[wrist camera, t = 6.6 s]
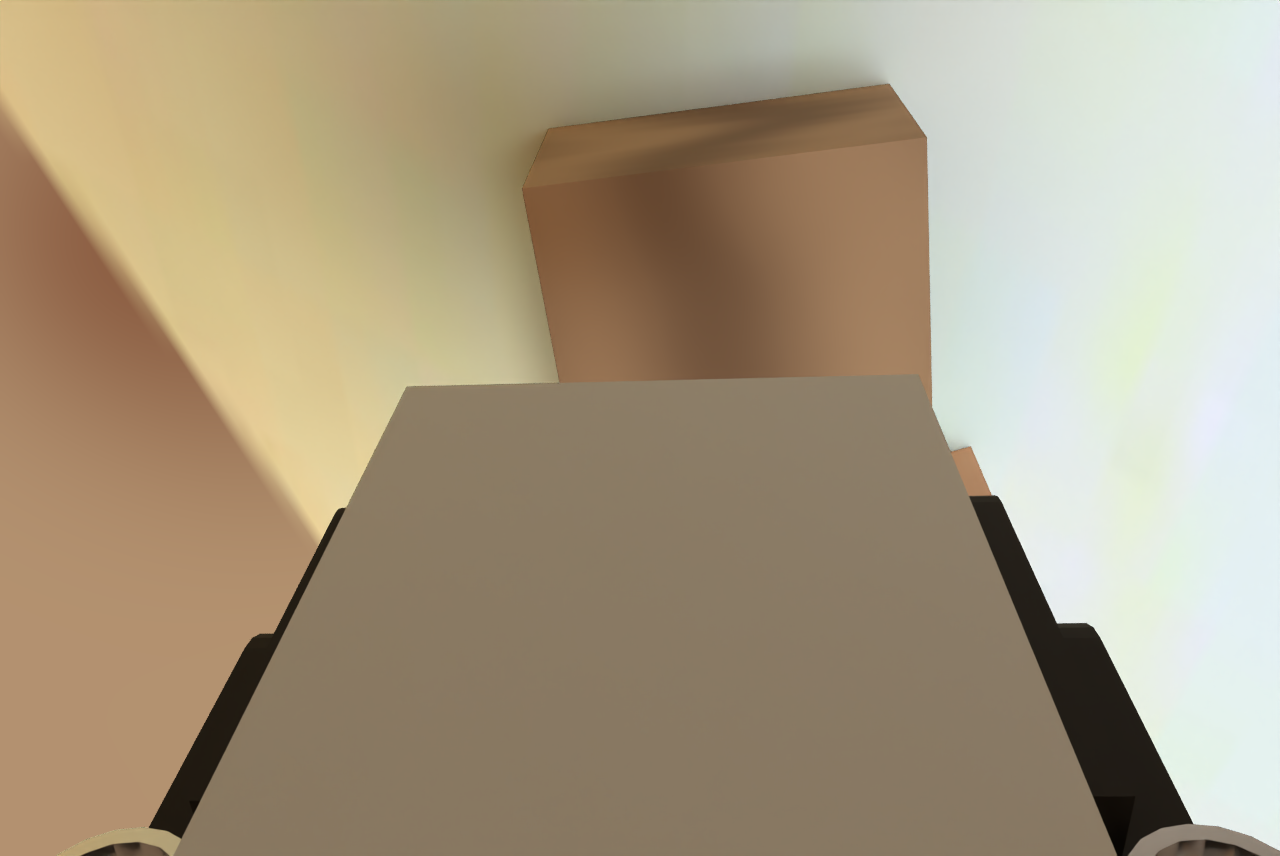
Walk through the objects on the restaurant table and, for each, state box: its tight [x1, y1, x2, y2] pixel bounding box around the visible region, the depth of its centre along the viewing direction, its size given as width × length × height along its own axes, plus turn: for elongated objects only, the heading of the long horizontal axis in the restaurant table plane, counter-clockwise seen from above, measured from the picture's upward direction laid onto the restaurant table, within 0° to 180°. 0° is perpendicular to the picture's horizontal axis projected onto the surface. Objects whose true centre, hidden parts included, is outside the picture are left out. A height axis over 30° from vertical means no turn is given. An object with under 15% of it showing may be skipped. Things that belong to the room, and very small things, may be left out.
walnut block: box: [522, 84, 932, 406], centre depth 26 cm, size 8×8×5 cm
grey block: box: [173, 374, 1117, 856], centre depth 10 cm, size 5×5×6 cm
